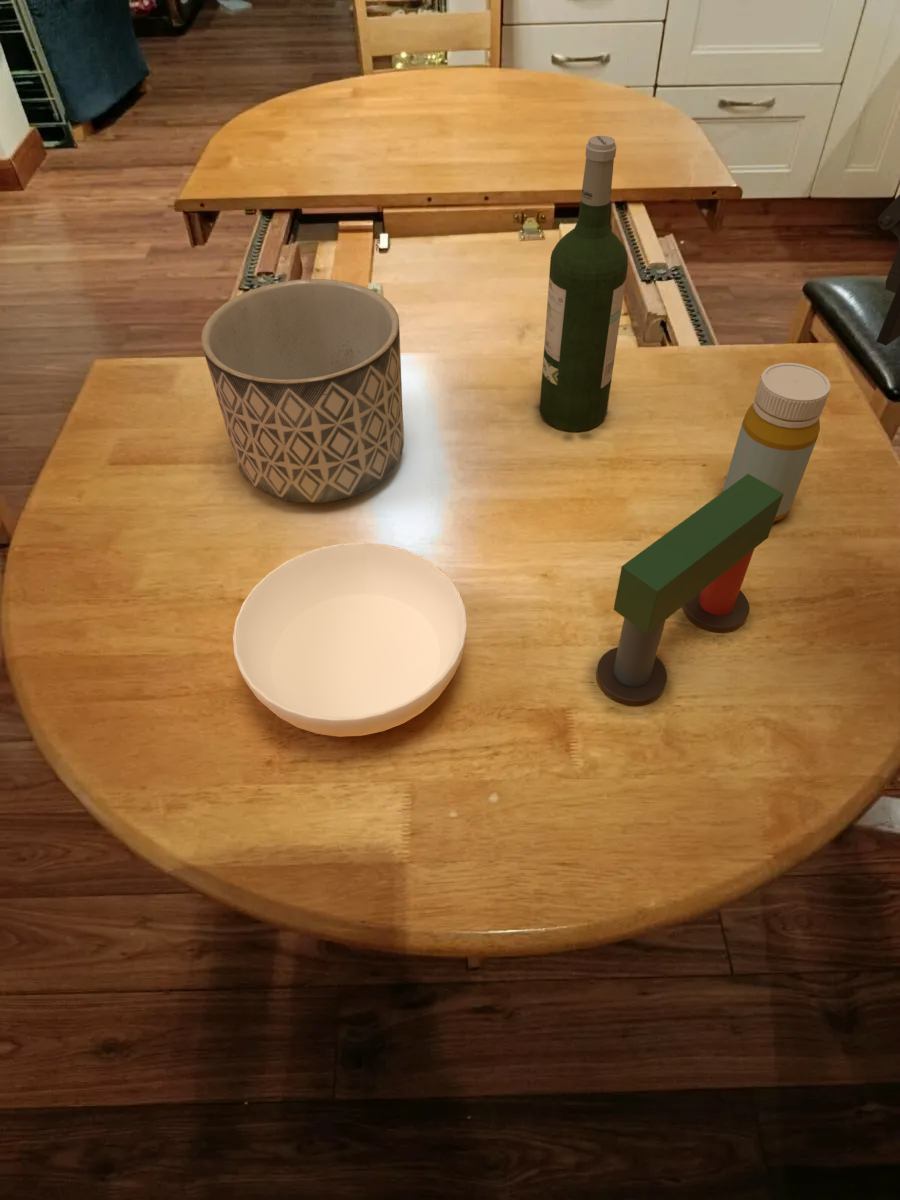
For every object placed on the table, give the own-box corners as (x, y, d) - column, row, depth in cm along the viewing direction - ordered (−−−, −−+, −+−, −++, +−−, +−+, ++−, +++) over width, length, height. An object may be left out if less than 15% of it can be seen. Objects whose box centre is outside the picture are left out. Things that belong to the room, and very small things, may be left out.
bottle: (750, 535, 86) (793, 411, 75) (706, 495, 90) (740, 372, 79) (803, 513, 88) (852, 390, 77) (758, 475, 92) (798, 352, 81)
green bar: (768, 538, 73) (784, 493, 69) (647, 634, 66) (658, 591, 62) (733, 517, 74) (747, 473, 71) (613, 609, 67) (621, 565, 64)
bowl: (223, 758, 69) (206, 715, 65) (271, 584, 82) (259, 538, 78) (462, 768, 68) (461, 725, 64) (471, 590, 81) (472, 544, 77)
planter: (433, 488, 91) (428, 353, 79) (259, 537, 87) (224, 402, 74) (375, 394, 103) (363, 264, 91) (219, 433, 99) (184, 301, 86)
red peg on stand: (760, 609, 79) (787, 540, 72) (721, 643, 76) (745, 574, 70) (707, 575, 82) (729, 505, 75) (668, 606, 79) (686, 537, 73)
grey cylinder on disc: (679, 679, 74) (701, 611, 67) (635, 718, 71) (652, 651, 64) (626, 640, 77) (641, 571, 70) (581, 676, 74) (593, 608, 68)
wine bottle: (535, 395, 103) (553, 126, 80) (599, 391, 103) (635, 123, 81) (543, 434, 97) (565, 159, 75) (612, 431, 98) (654, 155, 75)
